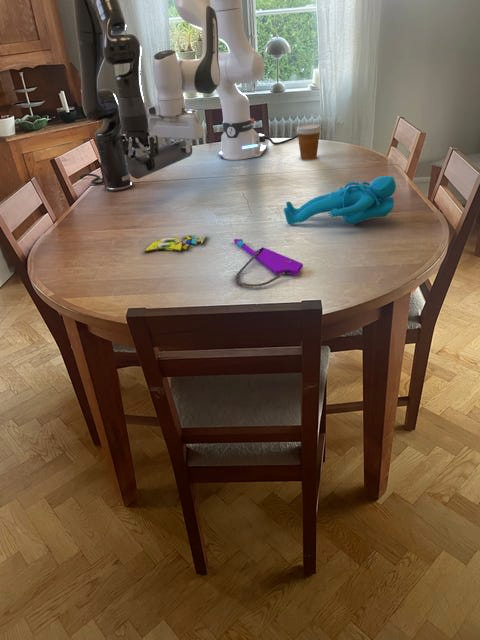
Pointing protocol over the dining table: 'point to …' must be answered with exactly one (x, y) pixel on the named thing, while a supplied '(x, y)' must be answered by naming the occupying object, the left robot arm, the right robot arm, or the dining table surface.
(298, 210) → the toy
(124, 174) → the left robot arm
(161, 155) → the rod
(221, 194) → the dining table surface
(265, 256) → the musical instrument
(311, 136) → the cup of beer
